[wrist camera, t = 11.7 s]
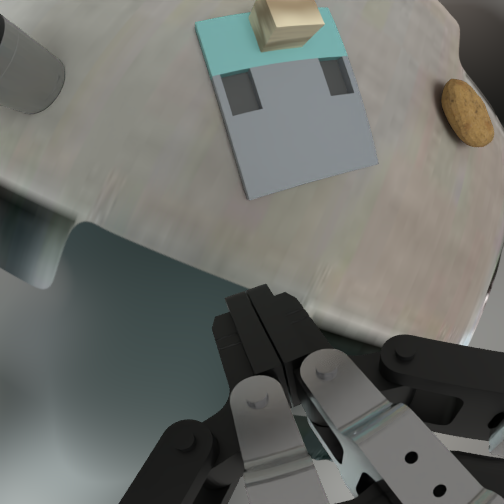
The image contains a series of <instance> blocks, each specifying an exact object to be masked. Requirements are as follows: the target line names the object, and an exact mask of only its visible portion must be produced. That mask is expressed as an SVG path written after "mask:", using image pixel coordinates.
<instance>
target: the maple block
mask: <svg viewBox="0 0 504 504" xmlns="http://www.w3.org/2000/svg"><path fill="white" fill-rule="evenodd" d="M249 21H250V24H251V26H252V29H253V32H254V35H255V37H256V40H257V43H258V46H259V49H260V51H261V52H267V51H274V50H281V49H290V48H299V47H302V46H303V45H304V44H305V43H306V42H307V41H308V40H309V39H310V38H311V37H312V36H313V35H314V34H315V33H316V32H317V31H318V30H319V29H320V28H322V27H323V26H324V25H325V23H324V21H323V19H322V16H321V14H320V12H319V9H318V7H317V5H316V3H315V1H314V0H256V1H255V4H254V6H253V8H252V11H251V13H250V15H249Z"/></svg>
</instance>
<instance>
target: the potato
mask: <svg viewBox="0 0 504 504" xmlns="http://www.w3.org/2000/svg"><path fill="white" fill-rule="evenodd" d="M441 102H442V108H443V110H444V113H445V115H446V117H447V120H448V122H449V124H450V125H451V127H452V129H453V130H454V132H455V133H456V134H457V136H458V137H459V138H460V139H461V140H462V141H463V142H464V143H466V144H467V145H470V146H472V147H484V146H486V145H487V144H489V143H490V142H491V141H492V139H493V137H494V129H493V125H492V123H491V120H490V117H489V115H488V112H487V110H486V107H485V104H484V102H483V101H482V99H481V98H480V97H479V96H478V95H477V93H476V92H475V91H474V90H473V88H472V87H471V86H470V85H468V84H467V83H466V82H464V81H462V80H457V79H451V80H449V81H448V82H447V83H446V85H445V87H444V89H443V93H442V100H441Z"/></svg>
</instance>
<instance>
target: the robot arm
mask: <svg viewBox="0 0 504 504" xmlns="http://www.w3.org/2000/svg"><path fill="white" fill-rule="evenodd" d="M64 77H65V71H64V66H63V64H62V63H61V61H60V60H59V59H58V58H56V57H55V56H54V55H53V54H51V53H50V52H49V51H48V50H47V49H45V48H44V47H43V46H41V45H40V44H39V43H38V42H36V41H35V40H34V39H33V38H31V37H30V36H29V35H27V34H26V33H25V32H24V31H22V30H21V29H20V28H18V27H17V26H16V25H15V24H13V23H12V22H10V21H9V20H8V19H6V18H5V17H4V16H2V15H1V14H0V106H3V107H7V108H10V109H13V110H17V111H20V112H24V113H28V114H34V113H38V112H40V111H42V110H44V109H45V108H47V107H48V106H49V105H50V104H51V103H52V102H53V101H54V100H55V99H56V97H57V96H58V94H59V92H60V90H61V88H62V86H63V82H64ZM225 301H226V304H227V306H228V310H229V312H228V313H225V314H222V315H219V316H216V317H215V319H214V323H213V326H212V331H213V334H214V337H215V341H216V344H217V348H218V350H219V354H220V358H221V361H222V364H223V368H224V371H225V374H226V377H227V380H228V384H229V388H230V393H229V398H228V400H227V402H226V404H225V405H224V407H223V408H222V409H221V410H220V411H219V412H218V413H216V414H215V415H213V416H212V417H210V418H208V419H207V420H205V421H204V422H199V421H196V420H181V421H178V422H176V423H174V424H172V425H171V426H169V427H168V428H167V429H166V431H165V432H164V433H163V435H162V436H161V438H160V440H159V441H158V443H157V444H156V446H155V448H154V449H153V451H152V452H151V454H150V456H149V457H148V459H147V460H146V462H145V463H144V465H143V467H142V468H141V470H140V471H139V473H138V474H137V476H136V478H135V479H134V481H133V482H132V484H131V485H130V487H129V488H128V490H127V492H126V493H125V495H124V496H123V498H122V499H121V501H120V502H119V504H228V502H229V500H230V498H231V496H232V494H233V492H234V490H235V487H236V486H237V484H238V481H239V479H240V477H242V476H243V478H244V483H245V488H246V492H247V496H248V500H249V504H330V503H329V501H328V498H327V496H326V493H325V491H324V488H323V486H322V484H321V481H320V479H319V476H318V474H317V471H316V469H315V466H314V464H313V461H312V459H311V457H310V455H309V453H308V452H307V450H306V448H305V445H304V443H303V440H302V438H301V435H300V433H299V430H298V427H297V425H296V422H295V420H294V417H293V414H292V412H291V409H290V408H292V407H291V402H292V404H293V406H294V407H295V406H297V405H300V404H302V406H303V408H304V410H305V412H306V414H307V420H308V423H309V425H310V426H311V428H312V430H313V431H314V433H315V434H316V436H317V437H318V439H319V440H320V442H321V443H322V445H323V446H324V448H325V449H326V451H327V452H328V454H329V455H330V457H331V458H332V460H333V461H334V463H335V464H336V466H337V467H338V470H339V472H340V475H341V477H342V479H343V481H344V483H345V484H346V486H347V487H348V489H349V490H350V492H351V493H352V495H353V496H354V499H353V500H349V501H345V502H341V503H337V504H504V459H502V458H496V457H489V456H483V455H477V454H471V453H466V452H461V451H449V450H448V449H447V448H446V447H445V445H444V444H443V443H442V442H441V441H440V440H439V439H438V438H437V437H436V436H435V435H434V433H433V432H438V433H442V434H448V435H453V436H459V437H465V438H471V439H478V440H485V441H489V444H490V445H489V452H490V453H491V454H492V455H498V456H501V457H504V353H503V352H497V351H491V350H485V349H480V348H474V347H468V346H463V345H458V344H452V343H447V342H442V341H437V340H432V339H427V338H422V337H417V336H412V335H397V336H394V337H392V338H390V339H388V340H387V341H386V342H385V343H384V345H383V347H382V349H381V352H376V353H371V354H366V355H359V356H350V355H346V354H345V353H343V352H341V351H339V350H336V349H334V348H333V347H332V346H331V345H330V344H329V342H328V341H327V339H326V338H325V337H324V335H323V334H322V333H321V331H320V330H319V328H318V327H317V326H316V324H315V323H314V322H313V320H312V319H311V318H310V317H309V315H308V313H307V312H306V311H305V309H303V307H302V305H301V304H300V302H299V301H298V300H297V298H295V297H293V296H291V295H289V294H288V293H286V292H284V293H281V294H278V295H276V296H274V295H273V294H272V292H271V291H270V289H269V287H268V286H267V284H263V285H260V286H258V287H255V288H252V289H249V290H247V291H246V293H245V292H241V293H238V294H235V295H232V296H229V297H227V298H225ZM290 400H291V402H290ZM432 431H433V432H432Z"/></svg>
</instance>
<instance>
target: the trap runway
mask: <svg viewBox="0 0 504 504" xmlns="http://www.w3.org/2000/svg"><path fill="white" fill-rule="evenodd" d="M318 9H319V12H320V14H321V16H322V19H323V21H324V23H325V25H324V26H323V27H322V28H320V29H319V30H318V31H317V32H316V33H315V34H314V35H313V36H312V37H311V38H310V39H309V40H308V41H307V42H306V43H305V44H304V45H303V46H302V47H299V48H290V49H281V50H274V51H267V52H261V51H260V49H259V46H258V43H257V40H256V37H255V35H254V32H253V29H252V26H251V24H250V21H249V15H250V13H251V12H249V13H242V14H235V15H229V16H224V17H218V18H213V19H208V20H204V21H199V22H195V30H196V33H197V37H198V40H199V43H200V46H201V49H202V52H203V56H204V59H205V62H206V65H207V69H208V72H209V75H210V78H211V81H212V85H213V88H214V91H215V94H216V98H217V101H218V104H219V108H220V111H221V114H222V117H223V121H224V124H225V127H226V131H227V134H228V137H229V140H230V144H231V147H232V150H233V154H234V157H235V160H236V164H237V167H238V170H239V174H240V177H241V180H242V184H243V187H244V191H245V194H246V197H247V199H248V200H252V199H256V198H259V197H262V196H265V195H269V194H272V193H275V192H279V191H282V190H285V189H289V188H292V187H295V186H299V185H302V184H306V183H309V182H313V181H316V180H320V179H324V178H327V177H331V176H334V175H338V174H342V173H346V172H349V171H353V170H357V169H361V168H365V167H369V166H373V165H377V164H379V163H378V159H377V154H376V150H375V146H374V142H373V138H372V134H371V130H370V126H369V122H368V118H367V115H366V111H365V108H364V104H363V101H362V98H361V94H360V91H359V88H358V85H357V82H356V79H355V76H354V73H353V70H352V67H351V64H350V61H349V58H348V56H347V53H346V50H345V48H344V45H343V42H342V40H341V37H340V35H339V32H338V30H337V27H336V25H335V23H334V20H333V18H332V16H331V13H330V11H329V9H328V8H318Z"/></svg>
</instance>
